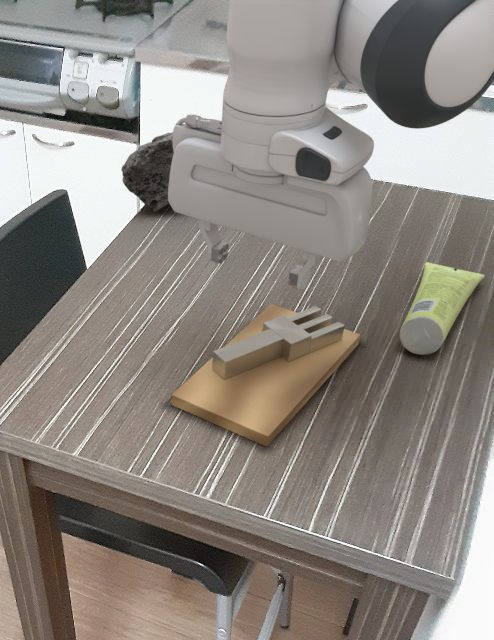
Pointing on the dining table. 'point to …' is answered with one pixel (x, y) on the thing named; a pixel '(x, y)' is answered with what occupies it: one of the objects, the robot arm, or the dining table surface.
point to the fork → (278, 342)
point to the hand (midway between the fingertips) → (256, 272)
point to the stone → (150, 171)
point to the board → (261, 386)
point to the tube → (436, 307)
